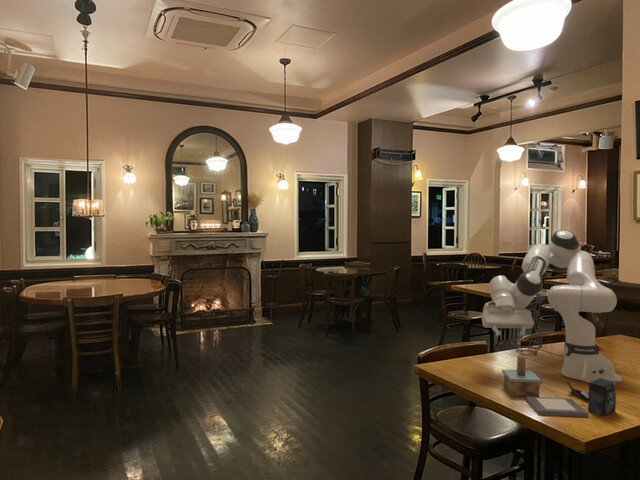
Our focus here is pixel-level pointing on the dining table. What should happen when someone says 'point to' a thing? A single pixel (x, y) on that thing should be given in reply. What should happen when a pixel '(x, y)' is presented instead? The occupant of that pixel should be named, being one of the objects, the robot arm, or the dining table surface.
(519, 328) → the geometric lantern
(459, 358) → the dining table surface
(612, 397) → the box
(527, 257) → the robot arm
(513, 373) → the lid
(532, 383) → the tea box
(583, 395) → the snack package
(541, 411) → the gray rectangular tray
